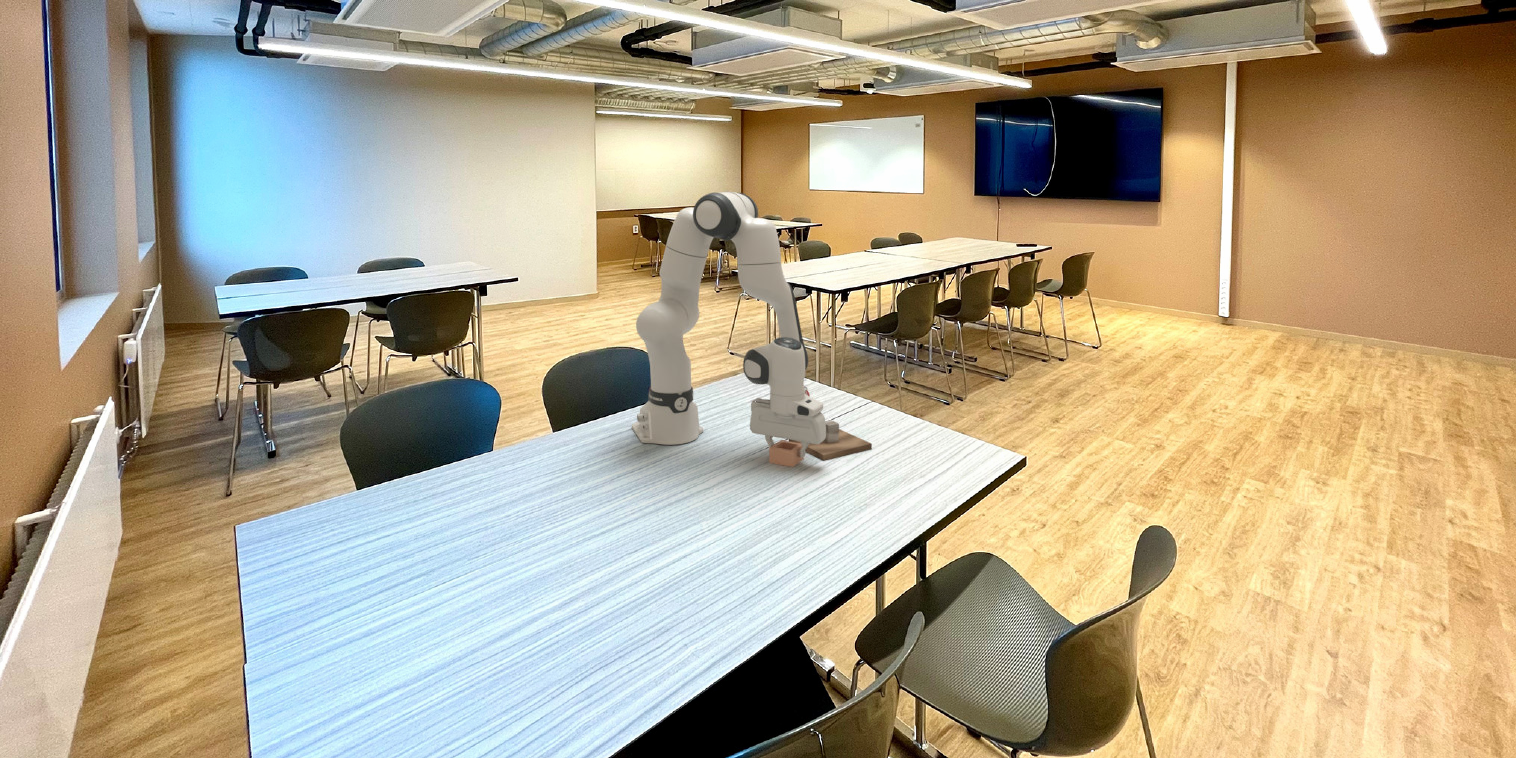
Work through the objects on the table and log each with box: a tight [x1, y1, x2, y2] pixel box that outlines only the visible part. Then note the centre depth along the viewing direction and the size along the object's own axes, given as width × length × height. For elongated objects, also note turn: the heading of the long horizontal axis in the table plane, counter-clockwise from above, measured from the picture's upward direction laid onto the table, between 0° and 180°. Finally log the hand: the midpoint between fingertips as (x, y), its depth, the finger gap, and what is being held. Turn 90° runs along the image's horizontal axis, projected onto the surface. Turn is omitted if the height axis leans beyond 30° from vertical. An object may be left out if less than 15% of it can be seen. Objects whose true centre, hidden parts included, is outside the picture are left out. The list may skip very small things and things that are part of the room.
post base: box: [788, 419, 873, 461], centre depth 204 cm, size 16×16×6 cm
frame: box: [768, 439, 805, 468], centre depth 193 cm, size 7×7×4 cm
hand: (786, 454), depth 194 cm, fingers closed on frame, 7 cm apart
